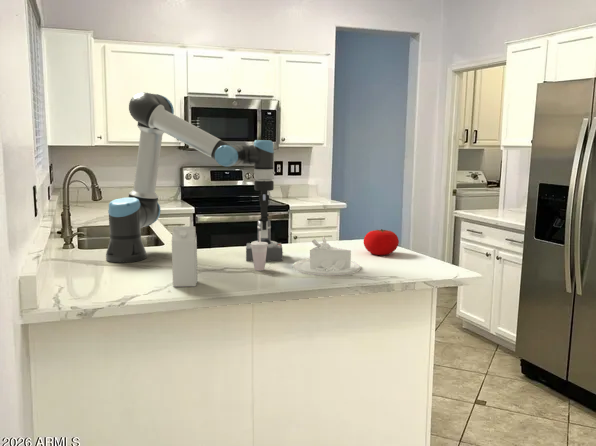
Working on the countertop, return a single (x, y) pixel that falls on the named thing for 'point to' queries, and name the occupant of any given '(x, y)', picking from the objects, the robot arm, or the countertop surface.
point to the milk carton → (184, 256)
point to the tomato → (381, 242)
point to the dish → (327, 261)
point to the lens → (268, 232)
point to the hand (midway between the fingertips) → (264, 235)
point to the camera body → (272, 251)
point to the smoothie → (259, 254)
